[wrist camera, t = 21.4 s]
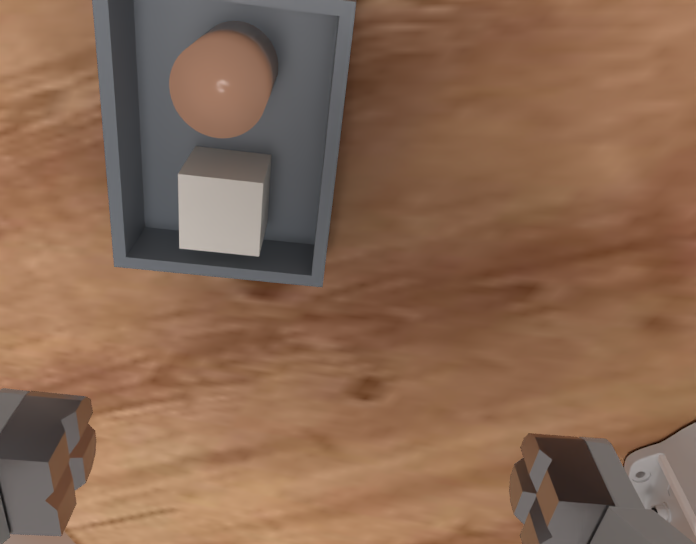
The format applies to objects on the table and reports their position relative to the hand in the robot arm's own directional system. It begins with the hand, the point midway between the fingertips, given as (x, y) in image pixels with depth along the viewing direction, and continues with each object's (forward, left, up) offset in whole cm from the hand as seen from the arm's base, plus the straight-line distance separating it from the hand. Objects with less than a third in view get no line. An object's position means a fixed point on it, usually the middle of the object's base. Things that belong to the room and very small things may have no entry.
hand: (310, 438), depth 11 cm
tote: (-4, +6, -31) cm, 32 cm away
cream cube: (-8, +6, -30) cm, 32 cm away
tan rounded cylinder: (0, +6, -30) cm, 31 cm away
